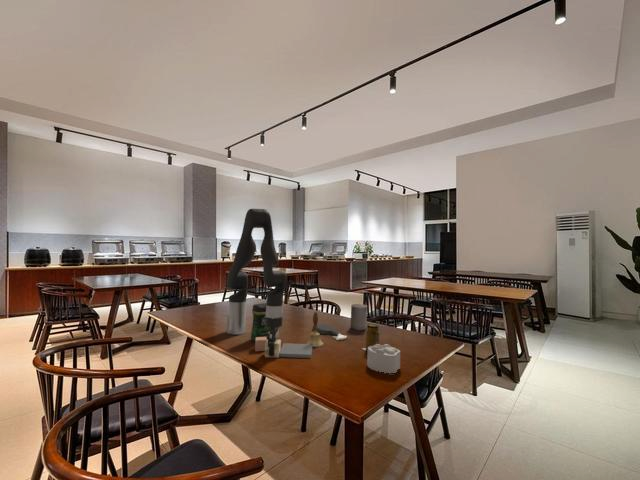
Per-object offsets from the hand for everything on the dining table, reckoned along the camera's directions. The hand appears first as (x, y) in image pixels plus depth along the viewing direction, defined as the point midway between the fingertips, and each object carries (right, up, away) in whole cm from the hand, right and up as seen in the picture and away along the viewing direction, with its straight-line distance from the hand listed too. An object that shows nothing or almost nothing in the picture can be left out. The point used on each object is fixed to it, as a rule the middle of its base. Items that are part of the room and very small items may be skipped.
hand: (272, 352), depth 137 cm
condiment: (+46, -3, +10) cm, 47 cm away
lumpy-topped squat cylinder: (+47, -2, -10) cm, 48 cm away
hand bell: (+18, -2, +16) cm, 25 cm away
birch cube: (0, -1, 0) cm, 1 cm away
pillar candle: (+44, -3, +50) cm, 67 cm away
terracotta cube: (-7, -1, +7) cm, 10 cm away
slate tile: (+10, -1, +5) cm, 11 cm away
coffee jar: (-9, -1, +21) cm, 23 cm away
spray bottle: (+27, -3, +36) cm, 45 cm away
